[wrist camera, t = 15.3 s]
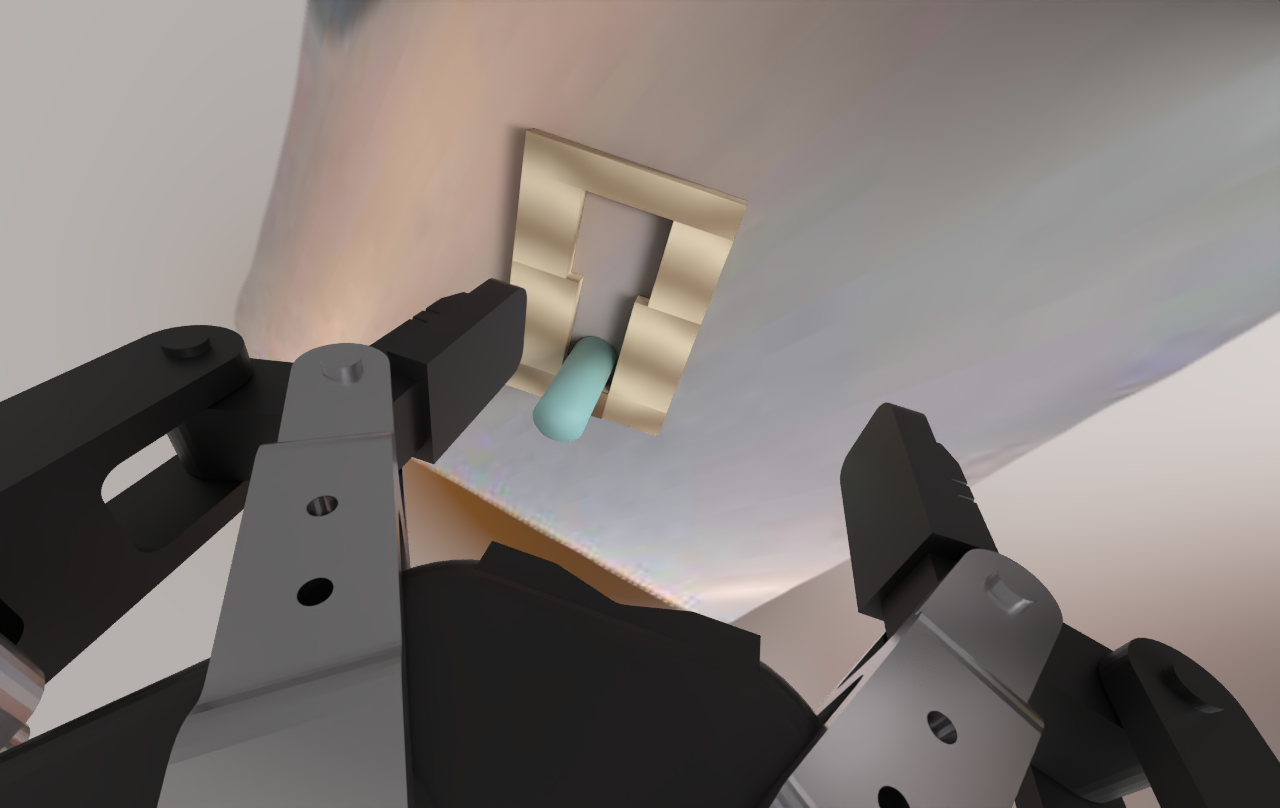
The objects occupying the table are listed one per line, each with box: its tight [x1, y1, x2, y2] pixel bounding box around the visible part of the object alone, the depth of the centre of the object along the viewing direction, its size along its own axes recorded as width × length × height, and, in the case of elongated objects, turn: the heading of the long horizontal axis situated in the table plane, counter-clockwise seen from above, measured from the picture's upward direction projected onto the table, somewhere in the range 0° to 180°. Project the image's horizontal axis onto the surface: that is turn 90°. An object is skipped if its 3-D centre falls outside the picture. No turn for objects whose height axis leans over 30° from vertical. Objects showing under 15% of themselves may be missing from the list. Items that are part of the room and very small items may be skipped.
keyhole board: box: [505, 128, 747, 436], centre depth 40 cm, size 22×16×2 cm
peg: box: [533, 336, 616, 442], centre depth 40 cm, size 4×4×10 cm
